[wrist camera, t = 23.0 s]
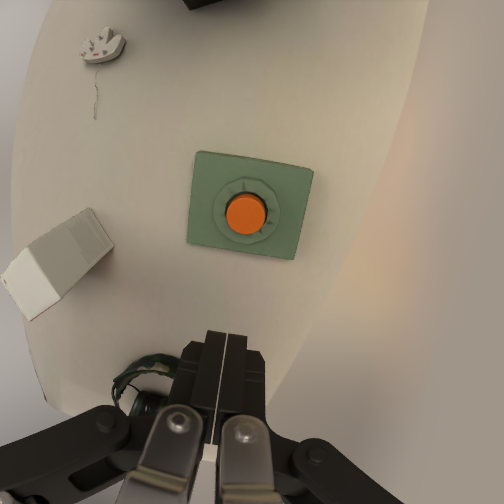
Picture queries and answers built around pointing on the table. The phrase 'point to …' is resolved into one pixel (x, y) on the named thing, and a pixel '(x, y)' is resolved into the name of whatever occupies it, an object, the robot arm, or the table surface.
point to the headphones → (144, 401)
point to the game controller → (102, 48)
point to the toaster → (198, 3)
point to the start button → (246, 214)
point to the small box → (55, 263)
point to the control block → (255, 183)
